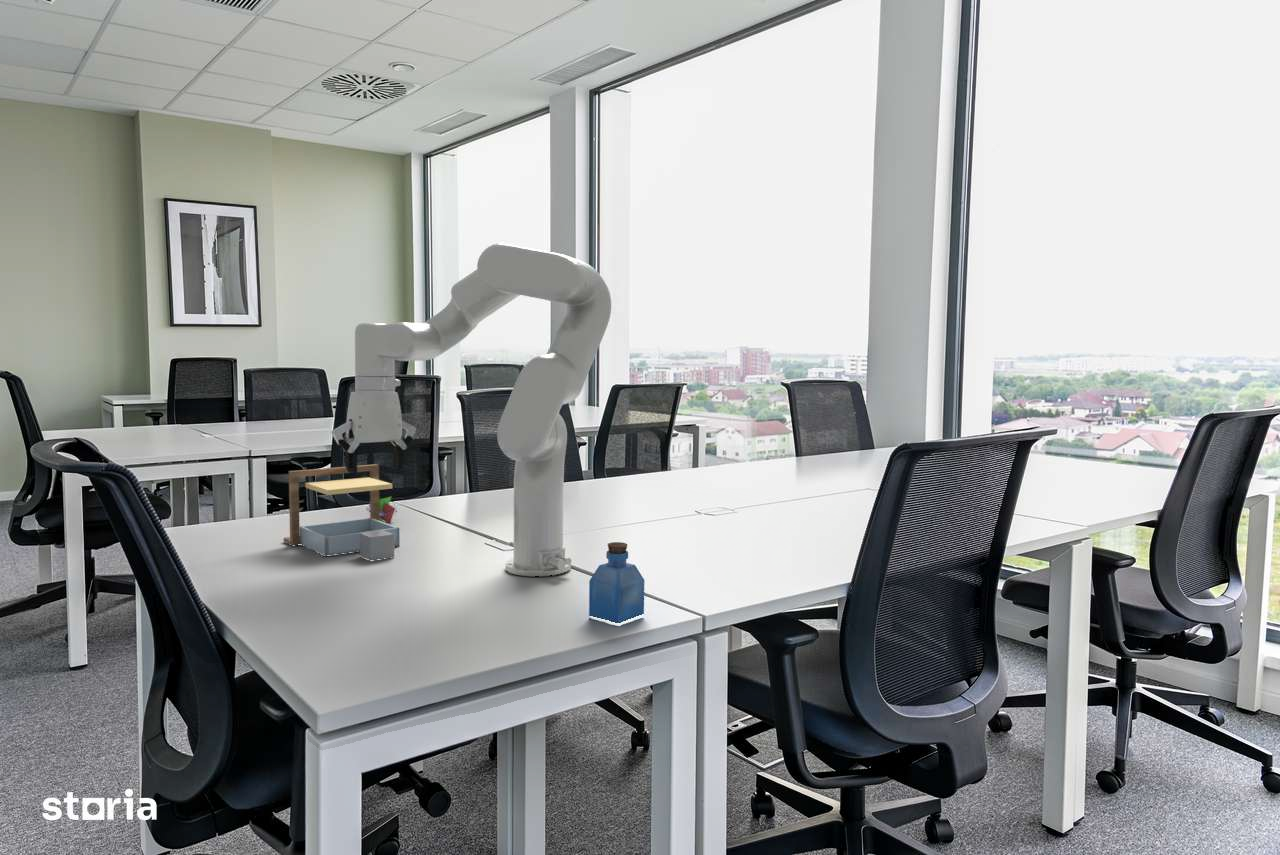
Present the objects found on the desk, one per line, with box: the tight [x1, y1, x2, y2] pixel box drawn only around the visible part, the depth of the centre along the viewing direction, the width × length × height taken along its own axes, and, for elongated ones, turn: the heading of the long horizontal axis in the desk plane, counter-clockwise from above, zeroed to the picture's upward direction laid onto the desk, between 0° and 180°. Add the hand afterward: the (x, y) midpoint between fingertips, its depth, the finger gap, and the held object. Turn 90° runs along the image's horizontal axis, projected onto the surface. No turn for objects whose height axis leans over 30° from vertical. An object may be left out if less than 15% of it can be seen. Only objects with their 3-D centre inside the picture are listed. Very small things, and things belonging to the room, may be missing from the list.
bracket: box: [283, 463, 380, 545], centre depth 189 cm, size 6×20×16 cm, turn 132°
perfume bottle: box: [588, 541, 645, 623], centre depth 136 cm, size 6×6×12 cm
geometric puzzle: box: [365, 495, 398, 524], centre depth 208 cm, size 7×7×8 cm
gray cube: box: [359, 530, 395, 560], centre depth 173 cm, size 5×5×5 cm
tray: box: [299, 517, 401, 556], centre depth 183 cm, size 14×16×4 cm
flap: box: [304, 476, 393, 496], centre depth 182 cm, size 12×14×1 cm
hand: (375, 470), depth 172 cm, fingers open, 9 cm apart
